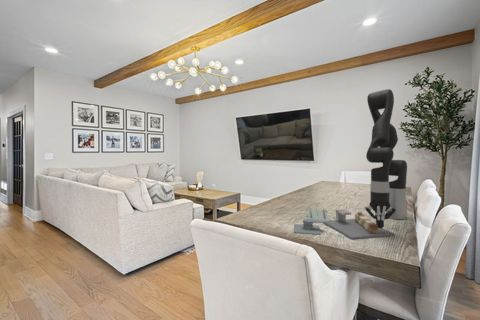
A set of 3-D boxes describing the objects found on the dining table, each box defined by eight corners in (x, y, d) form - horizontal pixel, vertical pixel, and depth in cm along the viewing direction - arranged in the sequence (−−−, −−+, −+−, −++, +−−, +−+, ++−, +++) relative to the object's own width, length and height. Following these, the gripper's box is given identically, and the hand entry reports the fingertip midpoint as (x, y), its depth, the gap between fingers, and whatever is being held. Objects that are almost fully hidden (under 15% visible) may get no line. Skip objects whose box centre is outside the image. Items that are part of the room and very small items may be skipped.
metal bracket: (303, 206, 139) (330, 207, 136) (303, 214, 141) (329, 215, 138) (304, 219, 126) (333, 221, 123) (304, 228, 128) (333, 230, 124)
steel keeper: (343, 220, 125) (343, 209, 124) (351, 224, 118) (351, 212, 118) (335, 221, 124) (335, 210, 124) (343, 224, 117) (343, 213, 117)
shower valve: (327, 224, 106) (293, 222, 109) (327, 236, 106) (293, 233, 110) (324, 217, 117) (294, 215, 121) (324, 227, 118) (294, 225, 122)
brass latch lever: (353, 220, 124) (353, 213, 124) (362, 220, 123) (362, 213, 123) (368, 232, 105) (368, 224, 105) (379, 233, 104) (379, 225, 104)
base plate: (358, 220, 128) (358, 208, 128) (394, 235, 104) (395, 221, 104) (322, 222, 124) (322, 211, 124) (351, 239, 100) (351, 225, 100)
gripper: (392, 189, 108) (392, 225, 108) (361, 189, 111) (361, 224, 111) (399, 192, 100) (399, 231, 101) (366, 191, 103) (366, 229, 104)
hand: (379, 227), depth 106 cm, fingers closed
